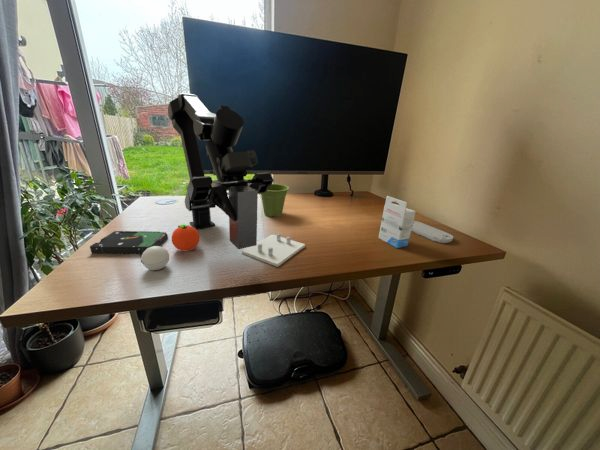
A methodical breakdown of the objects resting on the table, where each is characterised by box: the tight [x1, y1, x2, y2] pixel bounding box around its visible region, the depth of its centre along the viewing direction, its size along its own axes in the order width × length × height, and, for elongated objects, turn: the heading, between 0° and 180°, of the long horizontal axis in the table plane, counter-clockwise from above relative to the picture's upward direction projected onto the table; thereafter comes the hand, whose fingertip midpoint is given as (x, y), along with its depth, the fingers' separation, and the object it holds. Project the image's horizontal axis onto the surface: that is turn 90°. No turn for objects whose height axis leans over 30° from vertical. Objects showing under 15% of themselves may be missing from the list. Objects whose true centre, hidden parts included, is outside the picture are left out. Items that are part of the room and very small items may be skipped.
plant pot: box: [260, 183, 290, 218], centre depth 95 cm, size 12×12×11 cm
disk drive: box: [89, 230, 169, 256], centre depth 66 cm, size 10×3×15 cm
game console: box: [411, 220, 454, 244], centre depth 87 cm, size 18×2×8 cm
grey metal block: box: [228, 186, 258, 250], centre depth 54 cm, size 5×4×13 cm
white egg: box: [140, 245, 170, 271], centre depth 55 cm, size 8×6×6 cm
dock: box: [241, 233, 306, 268], centre depth 68 cm, size 12×14×3 cm
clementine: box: [171, 224, 201, 252], centre depth 65 cm, size 8×7×7 cm
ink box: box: [378, 195, 416, 249], centre depth 76 cm, size 8×5×15 cm, turn 26°
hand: (245, 218), depth 53 cm, fingers closed on grey metal block, 5 cm apart
